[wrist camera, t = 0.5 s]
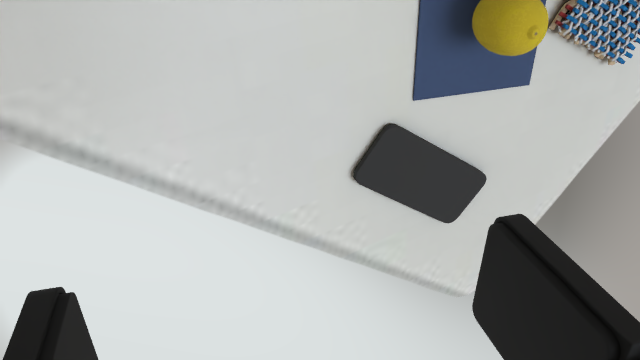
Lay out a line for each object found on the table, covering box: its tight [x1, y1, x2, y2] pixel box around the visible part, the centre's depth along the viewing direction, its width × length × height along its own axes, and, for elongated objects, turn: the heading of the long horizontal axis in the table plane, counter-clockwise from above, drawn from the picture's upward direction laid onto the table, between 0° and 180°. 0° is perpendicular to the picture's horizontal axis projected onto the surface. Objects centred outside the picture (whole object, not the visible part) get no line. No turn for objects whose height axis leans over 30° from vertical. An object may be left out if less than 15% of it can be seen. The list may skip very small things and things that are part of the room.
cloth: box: [413, 0, 546, 101], centre depth 45 cm, size 18×13×1 cm
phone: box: [354, 124, 486, 223], centre depth 53 cm, size 7×1×15 cm
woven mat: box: [549, 0, 640, 65], centre depth 47 cm, size 10×11×2 cm
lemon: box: [472, 0, 549, 56], centre depth 42 cm, size 6×6×8 cm
